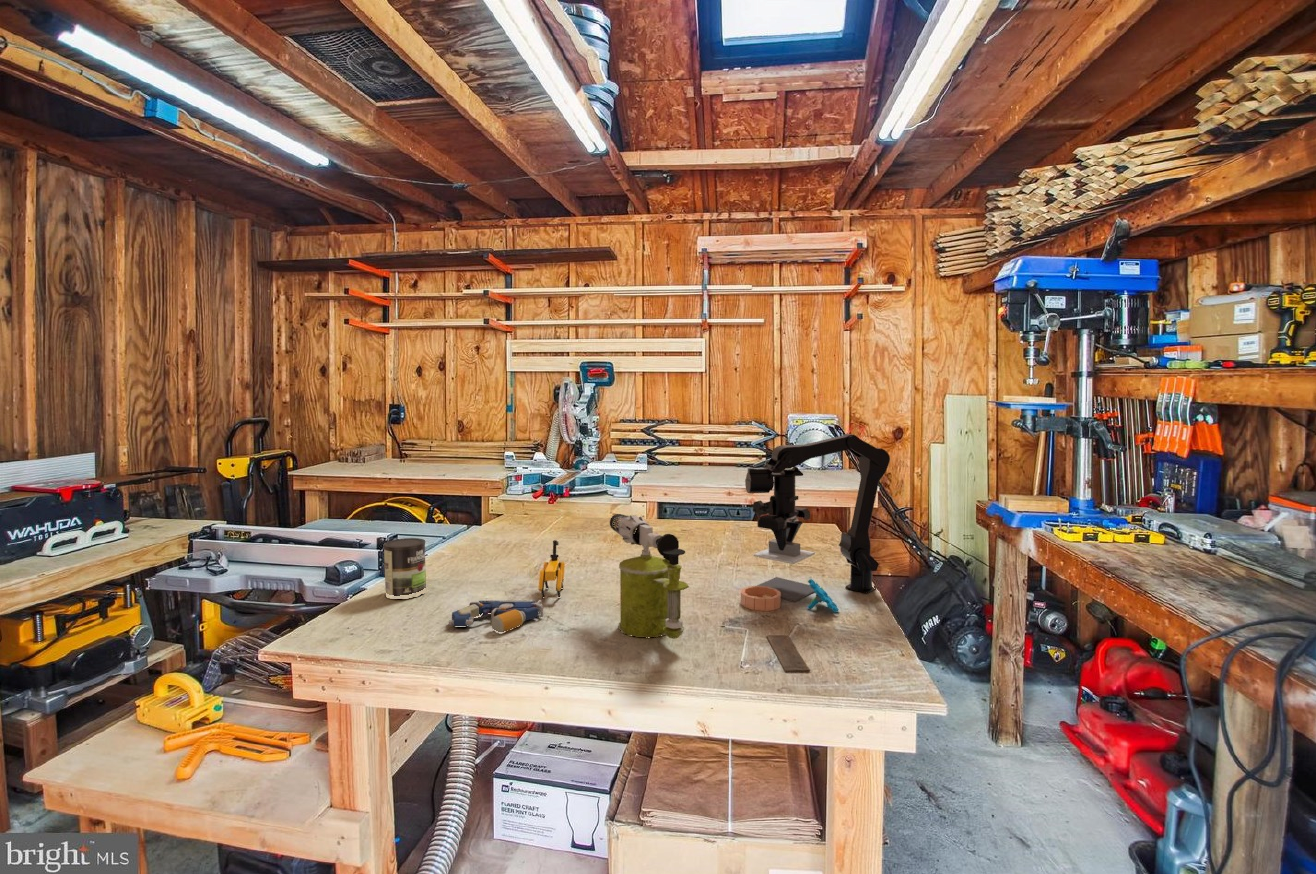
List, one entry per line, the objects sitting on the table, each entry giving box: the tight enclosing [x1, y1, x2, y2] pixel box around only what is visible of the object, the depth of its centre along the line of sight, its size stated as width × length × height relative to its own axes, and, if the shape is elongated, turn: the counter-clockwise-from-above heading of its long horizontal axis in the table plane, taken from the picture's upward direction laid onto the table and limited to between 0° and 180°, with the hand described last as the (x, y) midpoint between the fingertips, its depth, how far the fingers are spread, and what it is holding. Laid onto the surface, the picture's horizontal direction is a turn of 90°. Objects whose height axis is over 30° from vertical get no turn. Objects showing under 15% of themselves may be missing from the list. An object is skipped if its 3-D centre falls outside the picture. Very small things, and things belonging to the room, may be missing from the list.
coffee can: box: [383, 537, 427, 596], centre depth 156 cm, size 10×10×14 cm
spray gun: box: [448, 599, 544, 632], centre depth 137 cm, size 21×4×15 cm
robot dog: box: [538, 539, 566, 598], centre depth 158 cm, size 6×18×13 cm, turn 4°
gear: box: [807, 578, 840, 614], centre depth 146 cm, size 11×6×10 cm
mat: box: [756, 576, 815, 603], centre depth 160 cm, size 14×14×1 cm
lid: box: [753, 538, 816, 565], centre depth 158 cm, size 12×12×4 cm
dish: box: [740, 585, 782, 612], centre depth 149 cm, size 10×10×3 cm
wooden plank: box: [766, 634, 811, 673], centre depth 121 cm, size 17×1×5 cm
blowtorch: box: [609, 513, 690, 640], centre depth 133 cm, size 13×33×25 cm, turn 28°
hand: (784, 548), depth 158 cm, fingers closed on lid, 3 cm apart
